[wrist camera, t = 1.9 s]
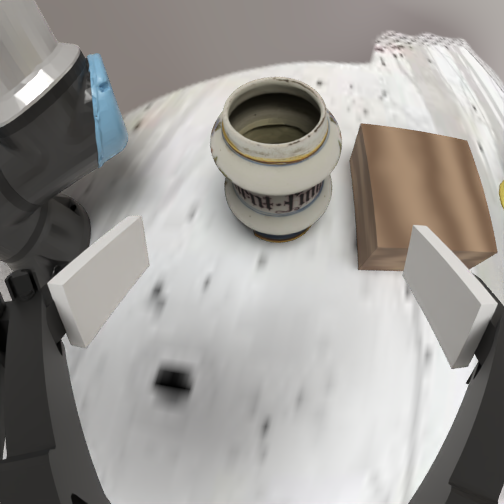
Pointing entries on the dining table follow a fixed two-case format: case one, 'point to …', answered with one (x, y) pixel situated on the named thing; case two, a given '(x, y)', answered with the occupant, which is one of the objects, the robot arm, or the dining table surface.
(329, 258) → the dining table surface
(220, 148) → the apothecary jar
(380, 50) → the dining table surface
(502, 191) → the rod with yellow discs
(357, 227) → the walnut stand
